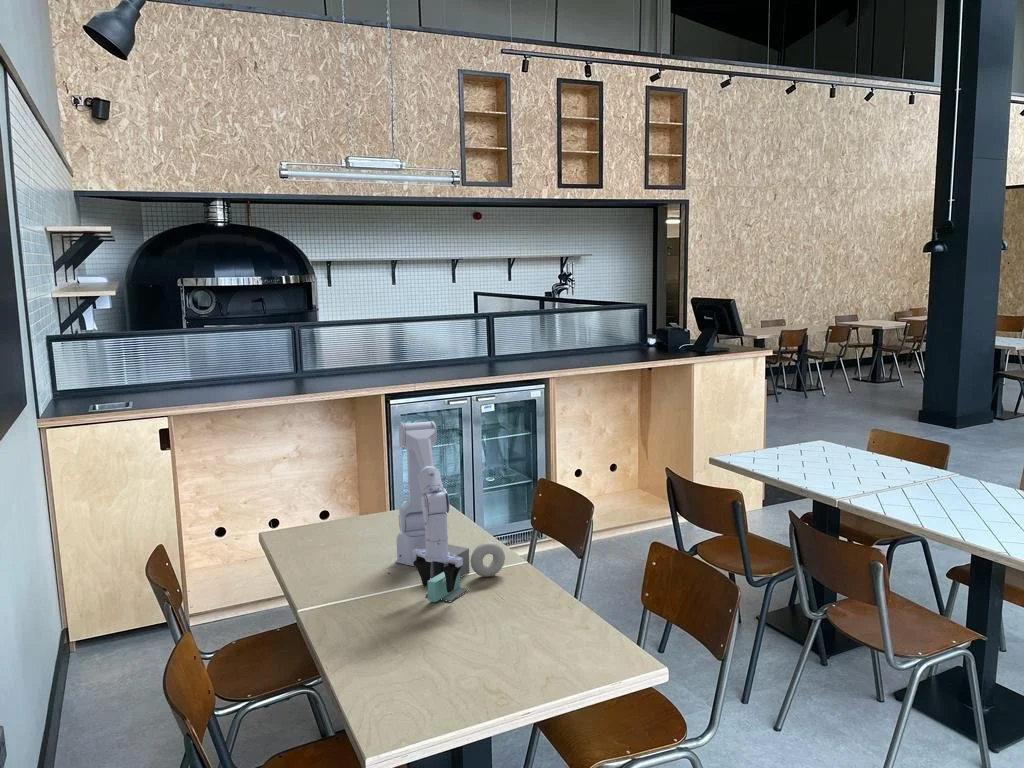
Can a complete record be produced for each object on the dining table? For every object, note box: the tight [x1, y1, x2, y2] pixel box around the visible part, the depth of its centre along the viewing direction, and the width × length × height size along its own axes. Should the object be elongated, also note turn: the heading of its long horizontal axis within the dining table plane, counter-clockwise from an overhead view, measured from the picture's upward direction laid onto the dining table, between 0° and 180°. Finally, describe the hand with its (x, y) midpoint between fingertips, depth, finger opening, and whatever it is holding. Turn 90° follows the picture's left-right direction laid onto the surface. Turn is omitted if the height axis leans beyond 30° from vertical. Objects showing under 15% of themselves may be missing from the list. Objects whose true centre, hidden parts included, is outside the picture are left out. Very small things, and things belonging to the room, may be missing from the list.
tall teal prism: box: [427, 571, 461, 603], centre depth 200 cm, size 2×11×5 cm, turn 150°
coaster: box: [425, 586, 469, 602], centre depth 202 cm, size 8×8×1 cm
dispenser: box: [430, 543, 471, 579], centre depth 213 cm, size 8×10×7 cm
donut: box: [470, 541, 506, 578], centre depth 212 cm, size 10×3×10 cm, turn 112°
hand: (438, 588), depth 198 cm, fingers open, 7 cm apart
